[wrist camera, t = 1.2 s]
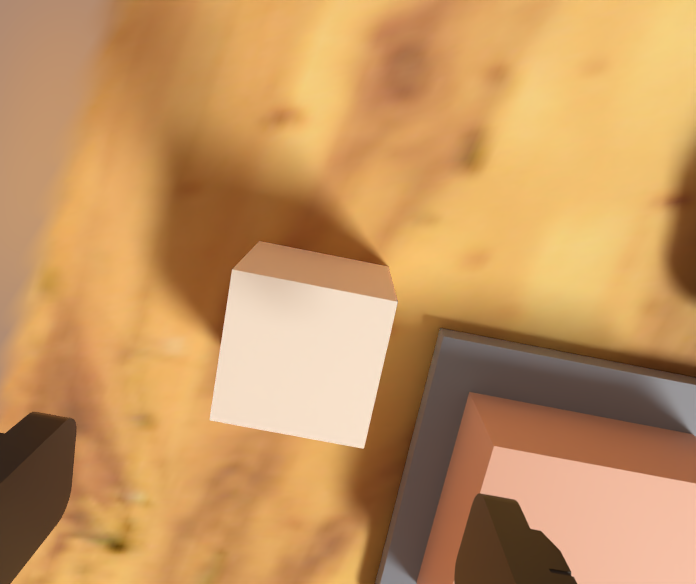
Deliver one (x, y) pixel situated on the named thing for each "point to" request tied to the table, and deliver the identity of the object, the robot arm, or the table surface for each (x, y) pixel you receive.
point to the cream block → (303, 344)
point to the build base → (519, 382)
